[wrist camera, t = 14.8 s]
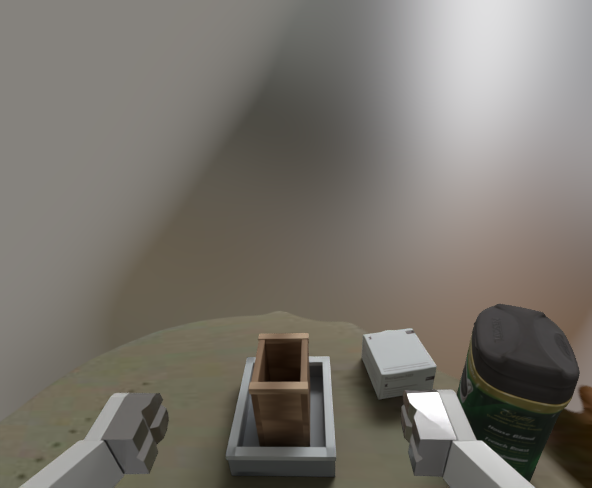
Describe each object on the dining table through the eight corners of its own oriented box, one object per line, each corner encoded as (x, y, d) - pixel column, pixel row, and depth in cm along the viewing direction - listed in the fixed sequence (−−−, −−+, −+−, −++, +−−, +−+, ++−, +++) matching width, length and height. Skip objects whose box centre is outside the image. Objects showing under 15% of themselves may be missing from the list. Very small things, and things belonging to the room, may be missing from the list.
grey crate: (329, 375, 49) (329, 356, 47) (336, 477, 36) (336, 457, 35) (250, 376, 49) (247, 357, 47) (230, 476, 37) (225, 456, 35)
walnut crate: (311, 388, 46) (308, 333, 41) (311, 447, 39) (307, 388, 34) (267, 388, 46) (259, 333, 42) (258, 447, 39) (248, 389, 34)
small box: (378, 401, 45) (380, 375, 42) (360, 357, 52) (361, 333, 49) (433, 393, 45) (438, 366, 43) (408, 351, 52) (411, 326, 50)
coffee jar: (532, 515, 32) (603, 386, 24) (445, 482, 35) (479, 356, 27) (518, 427, 40) (567, 306, 32) (447, 406, 43) (475, 290, 35)
